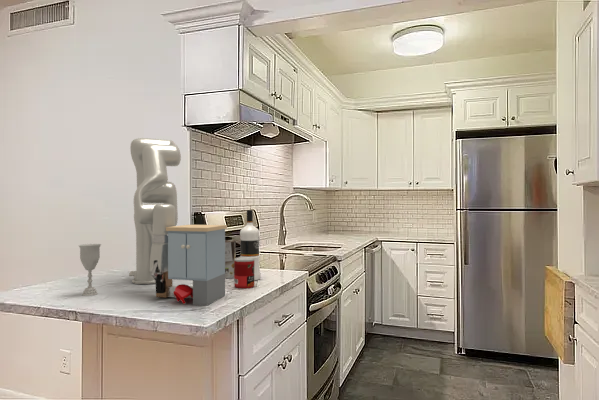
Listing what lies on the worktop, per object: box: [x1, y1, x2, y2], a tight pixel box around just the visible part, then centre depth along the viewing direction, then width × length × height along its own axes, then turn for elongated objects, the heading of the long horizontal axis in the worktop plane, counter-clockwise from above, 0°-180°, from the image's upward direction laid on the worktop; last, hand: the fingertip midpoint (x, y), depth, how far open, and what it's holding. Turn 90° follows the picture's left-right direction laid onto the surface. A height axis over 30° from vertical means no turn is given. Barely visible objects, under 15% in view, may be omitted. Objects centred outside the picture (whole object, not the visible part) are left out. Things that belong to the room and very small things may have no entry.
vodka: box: [239, 209, 262, 282], centre depth 172 cm, size 9×9×30 cm
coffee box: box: [225, 239, 237, 279], centre depth 178 cm, size 9×6×16 cm
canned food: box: [233, 257, 255, 290], centre depth 157 cm, size 8×8×11 cm
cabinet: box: [166, 224, 228, 306], centre depth 136 cm, size 15×16×25 cm
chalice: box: [78, 243, 102, 297], centre depth 145 cm, size 7×7×18 cm
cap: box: [173, 283, 193, 305], centre depth 133 cm, size 8×6×6 cm
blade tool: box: [155, 271, 193, 299], centre depth 139 cm, size 15×4×9 cm, turn 77°
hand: (164, 290), depth 140 cm, fingers closed on blade tool, 4 cm apart
